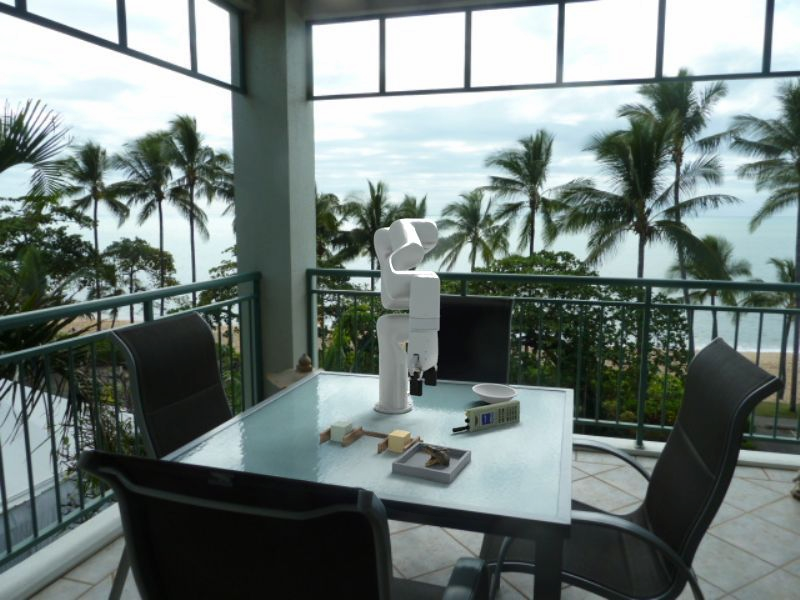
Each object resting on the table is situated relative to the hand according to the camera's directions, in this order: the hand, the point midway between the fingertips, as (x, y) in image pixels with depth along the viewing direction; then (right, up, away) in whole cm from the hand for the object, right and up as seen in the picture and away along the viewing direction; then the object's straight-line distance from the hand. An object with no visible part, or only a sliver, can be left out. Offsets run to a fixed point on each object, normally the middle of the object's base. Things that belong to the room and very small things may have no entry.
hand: (423, 390), depth 150 cm
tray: (+2, -19, -1) cm, 19 cm away
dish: (+26, -13, +52) cm, 60 cm away
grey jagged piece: (+2, -19, -1) cm, 19 cm away
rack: (-14, -17, +15) cm, 27 cm away
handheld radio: (+20, -16, +29) cm, 39 cm away
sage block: (-22, -17, +18) cm, 34 cm away
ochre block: (-6, -18, +11) cm, 22 cm away
